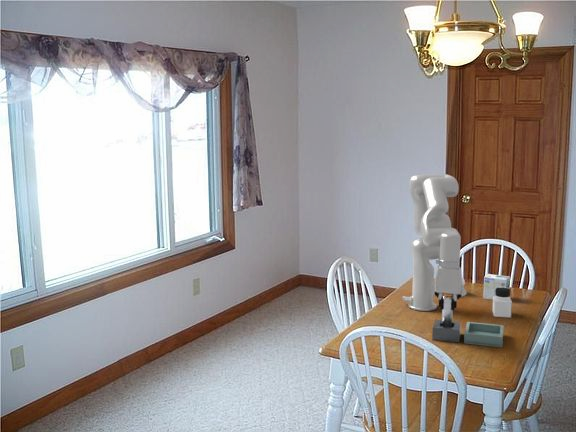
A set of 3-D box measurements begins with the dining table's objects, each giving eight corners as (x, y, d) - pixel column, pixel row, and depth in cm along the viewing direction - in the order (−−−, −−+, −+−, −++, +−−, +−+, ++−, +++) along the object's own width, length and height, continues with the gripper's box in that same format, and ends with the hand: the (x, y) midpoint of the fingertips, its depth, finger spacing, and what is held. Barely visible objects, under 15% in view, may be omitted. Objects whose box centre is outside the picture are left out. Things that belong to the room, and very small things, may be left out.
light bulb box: (509, 298, 308) (510, 276, 306) (505, 302, 303) (506, 279, 301) (486, 294, 314) (487, 273, 312) (482, 298, 308) (483, 276, 307)
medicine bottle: (511, 317, 281) (512, 290, 279) (493, 316, 282) (495, 289, 280) (509, 312, 288) (510, 286, 286) (492, 311, 289) (493, 285, 287)
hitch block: (432, 339, 256) (432, 327, 255) (435, 331, 265) (435, 319, 264) (458, 342, 253) (459, 330, 252) (460, 333, 262) (461, 321, 261)
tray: (464, 343, 252) (464, 333, 251) (466, 331, 265) (467, 321, 264) (502, 347, 247) (502, 337, 247) (503, 334, 261) (503, 325, 260)
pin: (440, 327, 257) (441, 293, 255) (441, 323, 262) (442, 290, 259) (452, 329, 256) (453, 294, 253) (453, 325, 260) (454, 291, 257)
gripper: (426, 264, 253) (424, 310, 256) (471, 268, 248) (468, 314, 251) (428, 259, 260) (427, 304, 263) (472, 263, 255) (470, 308, 258)
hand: (447, 308), depth 257 cm, fingers closed on pin, 4 cm apart
